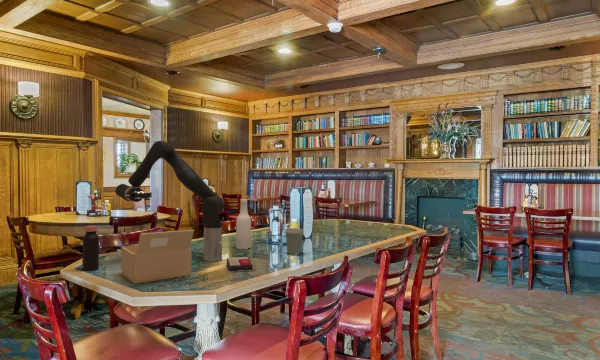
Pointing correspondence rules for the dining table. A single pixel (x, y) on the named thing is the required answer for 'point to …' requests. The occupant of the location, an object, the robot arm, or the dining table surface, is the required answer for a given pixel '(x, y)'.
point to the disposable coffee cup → (293, 240)
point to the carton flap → (164, 241)
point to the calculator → (239, 264)
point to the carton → (155, 264)
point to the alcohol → (243, 227)
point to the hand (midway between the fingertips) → (144, 196)
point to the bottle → (90, 249)
